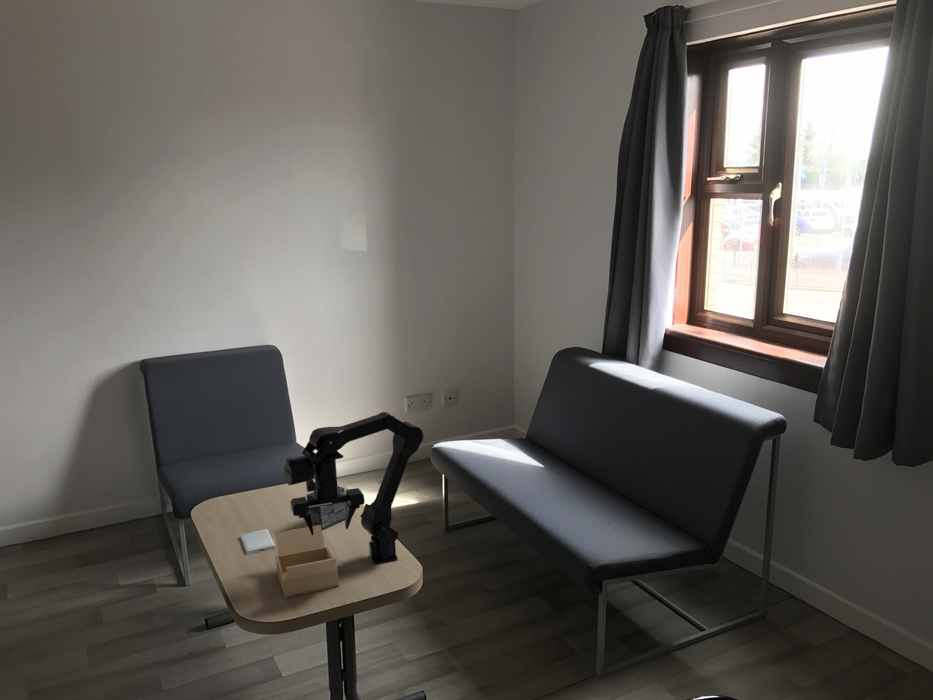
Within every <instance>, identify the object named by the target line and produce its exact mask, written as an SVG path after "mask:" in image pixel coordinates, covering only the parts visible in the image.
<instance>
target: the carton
mask: <svg viewBox="0 0 933 700" xmlns="http://www.w3.org/2000/svg"><path fill="white" fill-rule="evenodd" d="M331 558H333V556H332V554H331V552H330V549H329V546H324V547H322V548H316V549H311V550H306V551H300V552H295V553H290V554H284V555H275V563H276V564H275V565H276V575H277V576H278V577H279V578H278V577H277V578H278V581H279V584H280V588H281V590H282V594H283V598H284V597H285V598H289V596H290V597H293V595H295V596H297V595H296V594H300V595H302V594H301V593H305V594H309V593H313V592H317V591H318V592H319V591H323V590H327V589H332V588H338V587H339V586H340V585H339V570H338V567H337V565H335V571H331V572H326V573H320V574H315V575H310V576H305V577H300V578H295V579H290V580H286V567H290V566H295V565H300V564H305V563H311V562H316V561H321V560H326V559H331ZM308 592H309V593H308Z"/></svg>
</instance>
